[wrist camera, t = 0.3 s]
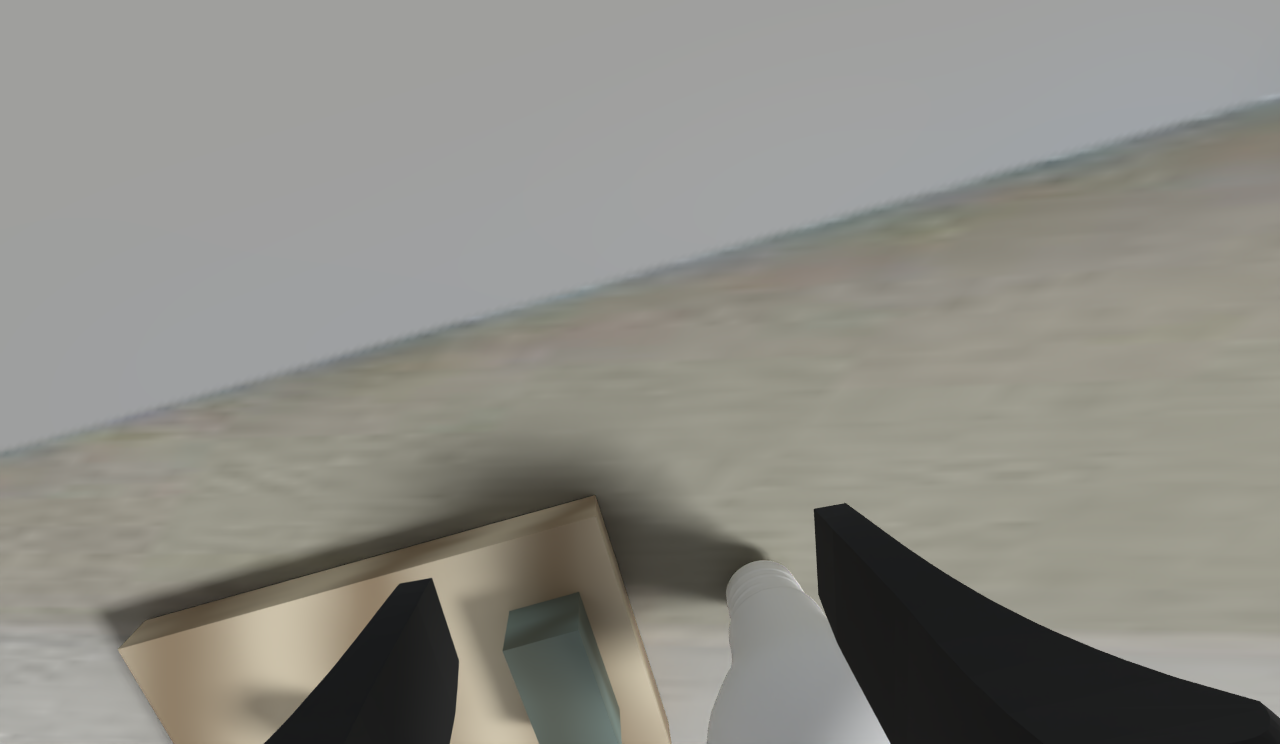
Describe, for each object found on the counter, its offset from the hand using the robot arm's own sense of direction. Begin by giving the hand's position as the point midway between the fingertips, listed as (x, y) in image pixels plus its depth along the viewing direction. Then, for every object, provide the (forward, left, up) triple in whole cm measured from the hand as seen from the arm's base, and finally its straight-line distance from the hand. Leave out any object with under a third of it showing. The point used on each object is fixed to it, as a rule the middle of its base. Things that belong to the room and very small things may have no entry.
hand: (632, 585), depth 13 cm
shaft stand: (-12, 0, -10) cm, 16 cm away
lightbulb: (-3, -8, -11) cm, 14 cm away
